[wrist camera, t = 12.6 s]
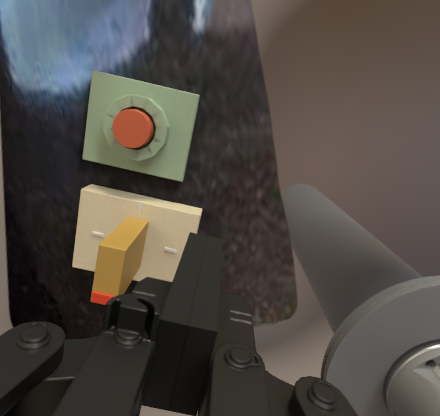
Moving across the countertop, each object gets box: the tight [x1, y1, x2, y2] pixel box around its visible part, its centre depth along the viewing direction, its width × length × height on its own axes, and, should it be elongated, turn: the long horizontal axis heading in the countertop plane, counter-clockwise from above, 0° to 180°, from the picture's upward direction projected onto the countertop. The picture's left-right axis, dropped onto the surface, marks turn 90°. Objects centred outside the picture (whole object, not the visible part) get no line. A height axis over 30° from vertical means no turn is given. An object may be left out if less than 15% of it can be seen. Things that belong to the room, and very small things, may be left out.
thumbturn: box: [91, 217, 149, 305], centre depth 35 cm, size 6×2×9 cm, turn 167°
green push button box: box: [82, 70, 200, 182], centre depth 38 cm, size 12×10×3 cm
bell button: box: [112, 109, 154, 148], centre depth 36 cm, size 4×4×2 cm
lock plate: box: [72, 184, 202, 282], centre depth 41 cm, size 14×10×3 cm
